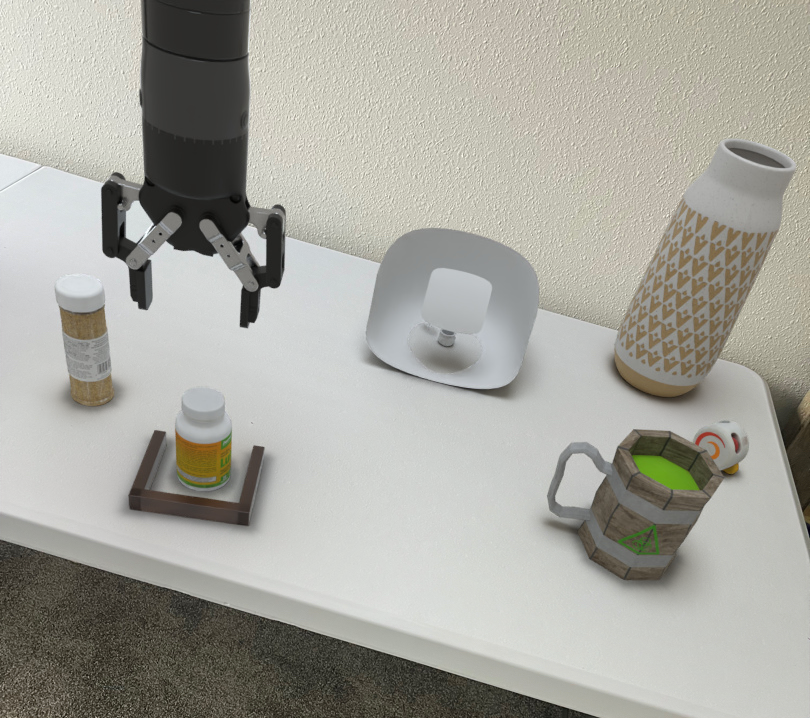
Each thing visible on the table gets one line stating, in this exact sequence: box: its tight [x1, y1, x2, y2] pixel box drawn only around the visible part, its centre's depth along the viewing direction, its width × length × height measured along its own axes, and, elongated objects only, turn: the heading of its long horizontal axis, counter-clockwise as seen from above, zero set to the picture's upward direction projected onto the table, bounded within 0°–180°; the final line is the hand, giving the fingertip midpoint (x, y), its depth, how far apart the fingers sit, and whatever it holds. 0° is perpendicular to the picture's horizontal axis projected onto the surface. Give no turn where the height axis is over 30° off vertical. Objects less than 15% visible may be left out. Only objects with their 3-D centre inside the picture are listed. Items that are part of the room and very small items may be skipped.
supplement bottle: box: [174, 386, 233, 492], centre depth 77 cm, size 5×5×10 cm
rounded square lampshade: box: [365, 227, 540, 390], centre depth 103 cm, size 20×19×12 cm
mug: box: [546, 428, 725, 581], centre depth 81 cm, size 16×11×12 cm
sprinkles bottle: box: [53, 273, 115, 407], centre depth 81 cm, size 5×5×13 cm
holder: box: [127, 429, 266, 527], centre depth 79 cm, size 11×10×2 cm
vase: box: [613, 137, 797, 398], centre depth 100 cm, size 14×14×31 cm
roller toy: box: [691, 419, 750, 475], centre depth 97 cm, size 4×6×6 cm
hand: (195, 314), depth 68 cm, fingers open, 8 cm apart
